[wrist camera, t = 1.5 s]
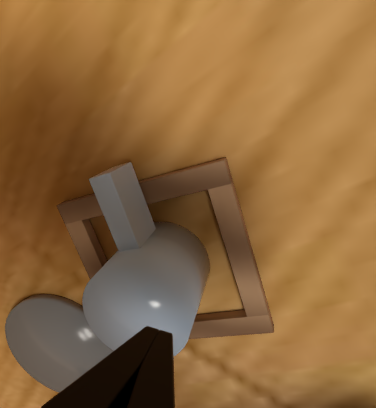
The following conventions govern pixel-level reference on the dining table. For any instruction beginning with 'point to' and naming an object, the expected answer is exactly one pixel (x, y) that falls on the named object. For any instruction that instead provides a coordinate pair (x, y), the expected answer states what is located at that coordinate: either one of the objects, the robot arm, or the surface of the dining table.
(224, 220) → the frame
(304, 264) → the dining table surface
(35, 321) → the disc
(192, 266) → the jug
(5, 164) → the dining table surface
